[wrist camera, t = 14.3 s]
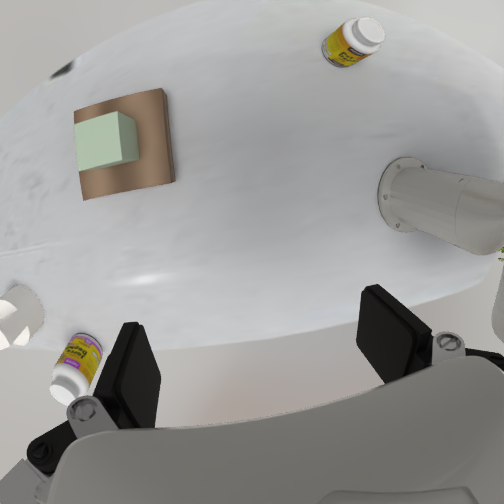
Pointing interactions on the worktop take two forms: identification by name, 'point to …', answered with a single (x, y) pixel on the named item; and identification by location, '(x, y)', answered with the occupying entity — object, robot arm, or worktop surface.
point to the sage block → (106, 141)
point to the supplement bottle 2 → (353, 41)
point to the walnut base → (149, 144)
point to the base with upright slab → (19, 316)
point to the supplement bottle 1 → (75, 369)
